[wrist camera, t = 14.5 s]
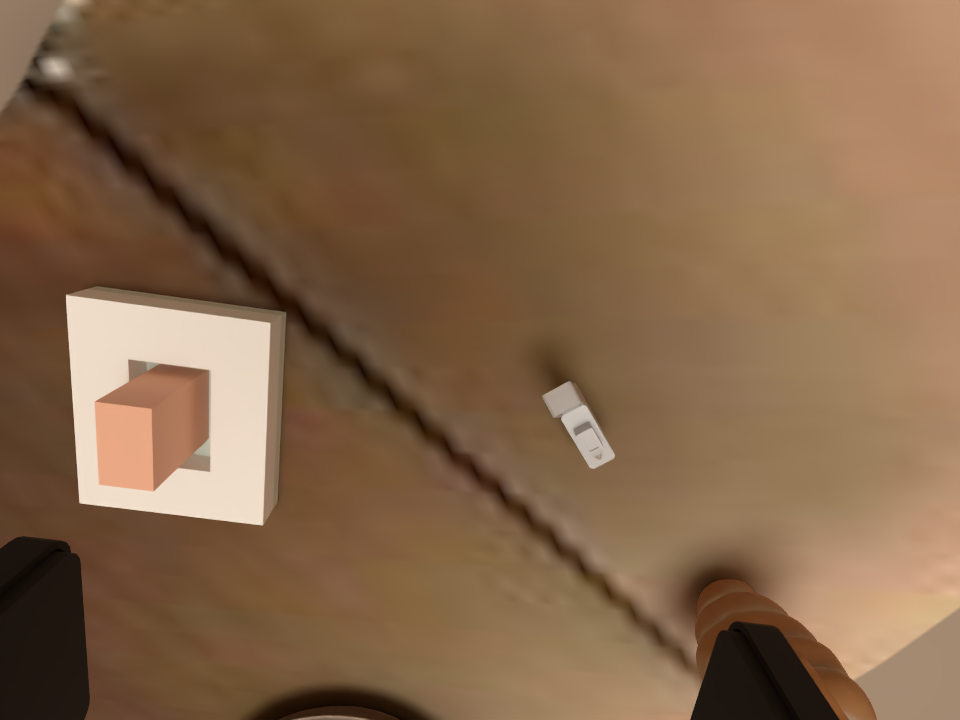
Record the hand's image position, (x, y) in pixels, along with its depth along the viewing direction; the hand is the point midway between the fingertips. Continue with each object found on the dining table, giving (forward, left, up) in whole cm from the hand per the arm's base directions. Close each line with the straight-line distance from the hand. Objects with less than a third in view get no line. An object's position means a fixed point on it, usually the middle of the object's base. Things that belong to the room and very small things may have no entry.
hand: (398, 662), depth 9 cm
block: (+10, -17, -29) cm, 35 cm away
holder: (+10, -17, -30) cm, 36 cm away
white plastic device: (+6, +8, -31) cm, 32 cm away
